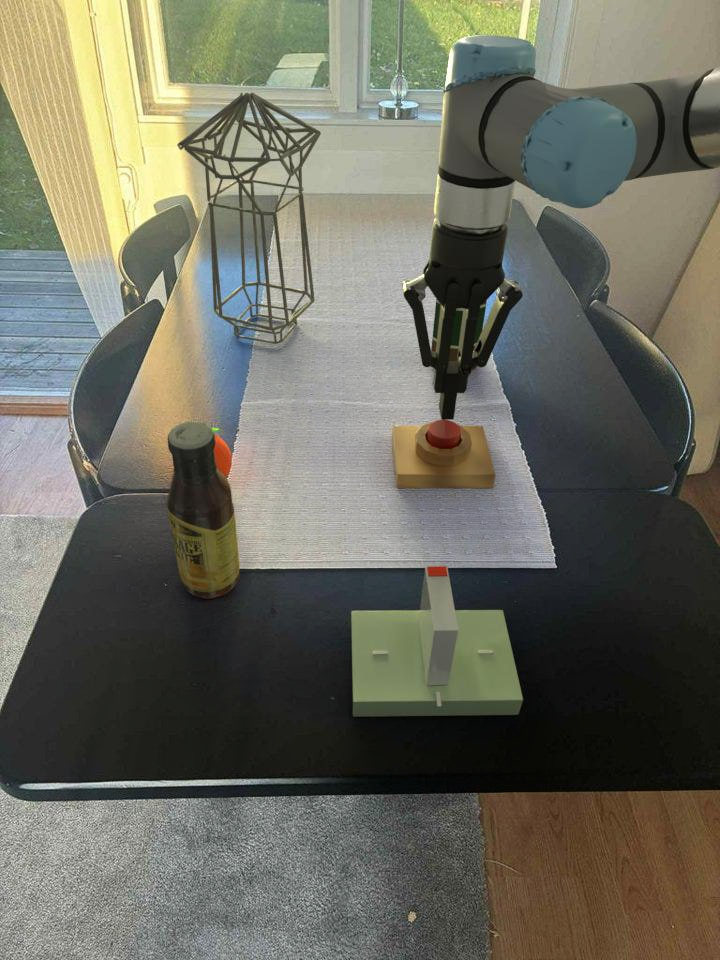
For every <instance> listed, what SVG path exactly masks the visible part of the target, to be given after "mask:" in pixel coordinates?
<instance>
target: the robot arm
mask: <svg viewBox="0 0 720 960" xmlns="http://www.w3.org/2000/svg"><path fill="white" fill-rule="evenodd" d="M536 58H537V50H536V48H535V46H534V45H533V44H532V43H531V42H530V41H529V40H527V39H523V38H520V37H515V36H513V37H512V36H509V35H508V36H506V35H494V34H492V35H491V34H482V35H481V34H480V35H470V36H465V37H462V38H460V39H458V40H457V41H456V42H455V43H453V45H452V46H451V48H450V51H449V57H448V64H447V73H446V80H445V85H444V86H443V88H442V93H443V98H442V99H443V100H442V112H441V123H440V124H441V126H440V137H439V138H440V139H439V149H438V162H437V163H438V166H437V167H438V168H437V177H436V188H435V196H434V206H433V214H434V216H435V218H434V219H433V221H432V226H431V237H430V248H429V258H428V261H427V263H426V264H425V266H424V267H423V269H422V275H420V276H418V277H417V278H415V279H413V280H411V279H405V280H404V281H402V283H401V286H402V293H403V298H404V299H405V301H406V303H407V304H408V306H409V307H410V309H411V312H412V315H413V321H414V326H415V331H416V337H417V342H418V343H417V344H418V348H419V352H420V353H419V354H420V359H421V360H420V361H421V364H422V366H423V367H424V368H433V369H434V371H433V380H432V385H433V390H434V393H435V394H440V395H439V402H438V411H439V414H440V420H450V421H453V420H454V419H455V413H456V405H457V397H458V394H465V393H466V391H467V389H468V383H469V382H468V381H469V376H470V375H471V374H472V370H471V369H472V368H473V367H476V368H477V367H478V368H484V367H486V366H487V364H488V363H489V359H490V357H491V355H492V353H493V351H494V349H495V346H496V344H497V342H498V339H499V337H500V335H501V332H502V331H503V328H504V326H505V324H506V322H507V319H508V317H509V315H510V313H511V311H512V310H513V309H514V307H515V306H516V305H517V304H518V303H519V302H520V301H521V299H522V298H523V295H524V294H523V291H522V289H521V287H520V284H519V283H518V281H517V280H510V279H509V278H507V277H506V273H505V271H504V268H503V267H504V266H503V261H504V255H505V249H506V244H507V238H508V232H509V231H508V230H509V228H508V225H507V223H508V221H509V220H510V218H511V213H512V206H513V199H514V193H515V187H516V182H517V183H519V184H521V185H522V186H524V187H526V188H529V189H530V190H532V191H534V193H536V195H539V196H540V197H541V198H543V199H548V200H549V201H550V202H554V203H559V204H562V205H565V206H567V207H570V208H574V209H587V208H592V207H595V206H597V205H599V204H601V203H602V202H603V200H605V198H607V197H609V196H610V195H613V194H614V193H616V191H617V190H618V189H619V188H620V187H621V186H622V184H623V183H624V182H627V181H632V180H636V179H642V178H650V177H657V176H663V175H671V174H680V173H688V172H698V171H707V170H714V169H720V66H718V67H714V68H708V69H703V70H700V71H695V72H692V73H688V74H684V75H680V76H675V77H670V78H665V79H664V78H662V79H655V80H649V81H641V82H627V83H617V84H608V85H597V86H588V87H578V88H565V87H561V86H558V85H553V84H551V83H548V82H547V83H546V82H544V81H541V80H540V79H537V78H535V74H536V72H537V70H536ZM427 287H428V289H429V290H430V291H431V293H432V294H433V296H434V297H435V300H436V299H437V300H438V302H439V303H440V318H439V327H438V336H437V345H436V352H433V351H431V343H430V337H429V332H428V331H429V330H428V326H427V321H426V315H425V309H424V303H423V301H424V299H425V298H426V295H427V294H426V289H427ZM495 292H496V298H495V300H494V302H493V304H492V307H491V309H490V311H489V313H488V316H487V318H486V321H485V322H484V324H483V330H482V332H481V335H480V337H479V339H478V342H477V344H476V346H475V349H474V351H473V348H474V341H475V334H476V327H477V320H478V318H479V313H480V306H481V305H482V304H483V303H484V302H485V301H486V300H487V301H488V299H489V298H490V297H491V296H492V295H493V294H494V293H495ZM458 308H463V317H462V324H461V332H460V340H459V348H458V356H457V358H458V362H457V361H449V355H450V347H451V339H452V331H453V323H454V319H455V315H456V309H458Z"/></svg>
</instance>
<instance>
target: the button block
mask: <svg viewBox="0 0 720 960" xmlns="http://www.w3.org/2000/svg"><path fill="white" fill-rule="evenodd" d="M432 422H433V421H431V422H428V423H424V424H423V425H392V428H391V444H392V454H393V464H394V465H393V466H394V473H395V474H394V475H395V477H394V478H395V485H396V488H397V489H412V488H413V489H490V488H491V489H493V488H494V486H495V479H496V470H495V466H494V464H493V463H494V462H493V460H492V456H491V452H490V448H489V444H488V440H487V437H486V433H485V428H484V426H483V425H461V424H458V425H459V427H460V429H461V433H460V440H459V444H458V445H457V446H456V447H455V448H452V449H439V448H436V447H433V446H431V445H430V444H429V443H428V440H427V437H428V428H429V425H430V424H431V423H432Z"/></svg>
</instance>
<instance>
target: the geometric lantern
mask: <svg viewBox="0 0 720 960" xmlns="http://www.w3.org/2000/svg"><path fill="white" fill-rule="evenodd" d="M243 93H244V92H240V93H239V95H238V96H237V97H236V98H235V99H233V100H232V101H231V102H230V103H229V104H227V105H226V106H225V107H223V108H222V109H220V110H219V111H218V112H217V113H215V114H214V115H213V116H212V117H210V118H209V119H208V120H206V121H205V122H204V123H202V124H201V125H199V127H197V128H196V129H195V130H193V131H192V132H191V133H190V134H189V135H187V136H185V138H183V139H181V141H179V142H178V143H177V144H176V146H177V147H178V149H179V150H180V151H182V150H183V149H184V151H185V152H187V153H188V154H189V155H190V156H192V158H194V159H195V160H196V161H197V162H199V163H200V164H201V165H202V166H204V170H205V171H204V173H205V182H206V185H205V186H206V198H207V199H206V200H207V202H208V203H207V205H208V207H209V224H210V225H209V227H210V228H209V229H210V246H211V247H210V252H211V254H210V255H211V274H212V275H211V277H212V278H211V279H212V298H213V299H212V300H213V311H214V313H215V314H216V315H217V317H218V318H220V319H222V320H224V321H226V322H227V323H229V324H230V325H231V326H233V335H234V336H235V337H237V338H239V339H244V340H250V341H256V342H262V343H266V344H272V345H278V344H280V343H282V342H284V340H285V339H287V337H288V336H289V335H290V333H291V332H292V331H293V330H294V329H295V328H296V326H297V325H298V318H299V317H300V316H301V315H302V314H303V313H305V311H307V310H308V308H309V307H310V306H312V305H313V304H314V303H315V301H316V300H315V291H314V290H315V289H314V282H313V272H312V264H311V254H310V245H309V235H308V229H307V228H308V227H307V220H306V219H307V218H306V210H305V209H306V208H305V199H304V193H303V191H304V187H303V166H304V164H305V162H306V160H307V159H308V158H309V156H310V154H311V152H312V150H313V149H314V147H315V145H316V143H317V141H318V140H319V138H320V137H321V134H322V133H321V131H320V130H319V129H317V128H316V127H314V126H312V125H310V124H309V123H307V122H306V121H303V120H301V118H299V117H296V116H295V115H293V114H291V113H289V112H287V111H286V110H285V109H282V108H281V107H280V106H277V105H275V104H274V103H272V102H270V101H269V100H266V99H265V98H263V97H261V96H259V95H258V94H256V93H255V92H252V91H251V92H245V93H244V94H243ZM248 106H249V108H250V111H251V114H252V117H253V120H254V122H252V121H249V120H246V119H245V118H246V113H247V110H248ZM256 110H257V111H258V114H259V116H260V118H261V120H262V123H263V125H262V124H260V120H259V117H258V114H257V111H256ZM271 110H272V111H273V112H275V113H276V114H279V115H280V116H283V117H284V118H285V119H288V120H290V121H292V122H293V123H295V124H298V125H299V126H301V127H298V128H297V127H296V128H291V127H287V126H284V125H283V124H282V123H281V122H280V120H279V119H278V118H277V116H275V115H274V114H273V113H272V111H271ZM235 122H237V123H238V126H237V128H236V133H235V136H234V137H235V138H234V141H233V145H232V149H231V152H230V156H227V155H226V154H223V150H224V147H225V142H226V138H227V137H228V135H229V132H230V131H231V129H232V128H233V126H234V124H235ZM273 123H274V124H275V125H274V124H273ZM210 126H212V127H211V128H210V129H209V130H208V131H207V132H205V134H204V135H203V136H202V137H199V136H200V135H201V134H202V133H203V132H204V131H205V130H207V129H208V128H209V127H210ZM251 127H252V128H256V130H257V133H256V132H255V131H254V130H253V129H252V128H251ZM243 128H244V129H245V130H246V131H247V132H248V133H249V134H251V136H252V137H254V139H256V140H257V141H258V142H259V143H260V144H261V147H262V153H261V155H260V156H257V157H255V156H253V157H252V156H249V157H248V156H236V154H237V150H238V147H239V142H240V138H241V134H242V130H243ZM215 131H216V132H215ZM263 131H267V134H268V135H269V136H268V143H267V142H266V139H265V136H264V133H263ZM279 131H280V132H282V133H283V134H284V135H285V142H284V140H283V138H282V137H281V135H280V133H279ZM294 133H295V134H296V133H305V135H303V136H302V137H300V138H299V139H298V140H296V139H295V138H294V137H293V136H292V134H294ZM273 135H274V137H275V138H276V140H277V141H278V143H279V144H280V146H281V148H278V145H277V144H276V142H275V139H274V137H273ZM219 136H220V138H219V139H218V140H217V137H219ZM197 137H198V138H197ZM207 140H208V141H210V140H213V146H214V148H213V149H208V148H206V141H207ZM217 141H218V142H217ZM289 141H290V142H291V143H292V145H290V146H289ZM198 143H201V146H202V147H198V146H194V144H198ZM302 143H303V144H302ZM272 144H273V146H272ZM301 144H302V145H301ZM288 146H289V147H288ZM306 148H307V149H306ZM305 149H306V151H305V152H304V150H305ZM269 151H272V152H275V153H277V155H278V158H271V155H270V152H269ZM303 152H304V154H303ZM297 153H299V163H298V164H297V166H296V167H295V165H294V163H293V157H292V156H293V155H295V154H297ZM200 156H201V157H200ZM202 157H203V158H204V159H203V158H202ZM286 158H288V163H289V165H288V164H287V162H286V161H285V159H286ZM214 159H216V160H219V161H224V162H227V165H228V167H229V171H230V174H221V173H220V172H219V171H217V168H216V164H215V160H214ZM209 160H210V163H211V164H209ZM235 162H237V163H240V162H241V163H255V164H254V165H252V166H250V167H248V168H247V169H245V170H242V171H241V172H240V171H238V170H237V168H236V167H235V165H234V164H233V163H235ZM270 162H280V164H281V165H282V167H283V168H284V170H285V171H286V173H287V174H288V177H287V180H286V182H285V184H283V183H276V182H270V181H264V180H257V179H254V178H255V177H256V174H257V172H258V170H259V168H261V167H263V166H265V165H267V164H268V163H270ZM234 171H235V172H234ZM210 172H211V173H212V174H213V175H214V178H215V179H219V183H218V186H217V189H216V192H215V193H213V194H211V184H210V183H211V181H210V180H211V179H210ZM235 173H236V174H235ZM250 173H251V175H250V177H249V178H248V179H245V178H244V177H245V176H247V175H249V174H250ZM294 175H295V177H296V180H297V183H298V186H296V185H290V184H289V183H290V181H291V179H292V177H293V176H294ZM224 180H234V181H232V182H230V183H229V184H228V185H226V186H224V187H223V188H221V187H222V184H223V181H224ZM236 184H237V185H238V203H239V205H238V207H236V206H231V205H225V204H219V203H216V201H217V198H218V196H219V194H222V193H223V192H225V191H226V190H228V189H229V188H231V187H233V186H234V185H236ZM245 184H248V185H250V192H249V190H248V189H247V187H246V186H245ZM255 184H261V185H267V186H275V187H280V188H283V189H282V192H281V193H280V197H279V199H278V201H277V203H276V205H275V209H274V210H265V211H263V210H262V209H261V208H260V206H259V204H258V203H257V202H256V197H255ZM287 189H293V190H298V191H297V192H298V193H297V194H296V195H295V196H293V197H292V198H291V199H289V200H288V201H286V202H285V203H283V204H282V205H281V202H282V200H283V197H284V196H285V192H286V190H287ZM243 192H244V194H245V195H246V196H247V198H248V199H249V201H250V202H251V209H247V208H244V206H243V205H244V204H243V203H244V201H243ZM297 199H298V207H299V222H300V223H299V224H300V239H301V253H302V254H301V255H302V271H303V285H304V286H303V287H304V289H303V290H302V289H298V288H293V287H288V286H286V283H285V276H284V265H283V258H282V250H281V241H280V231H279V222H278V214H277V213H279V212H280V211H281V210H283V209H284V208H285V207H287V206H288V205H290V204H291V203H293V202H294V201H296V200H297ZM214 207H216V208H220V209H221V208H222V209H227V210H232V211H239V232H240V233H239V234H240V235H239V236H240V257H241V285H240V286H238V288H237V289H235V290H234V291H233V292H232V293H230V294H229V295H228V296H227V297H226V298H224V299H223V300H222V295H221V293H222V292H221V282H220V273H219V271H220V270H219V259H218V247H217V235H216V224H215V212H214ZM244 213H249V214H252V215H251V216H252V223H253V224H252V226H253V241H254V242H253V243H254V255H255V266H256V279H257V281H252V282H246V262H245V261H246V259H245V258H246V257H245V234H244V233H245V232H244V231H245V230H244V227H245V226H244ZM257 215H259V217H260V218H259V219H260V232H261V242H262V255H263V269H264V279H265V282H262V281H261V267H260V266H261V265H260V252H259V239H258V225H257V224H258V223H257ZM265 216H272V218H273V228H274V236H275V244H276V254H277V261H278V270H279V271H278V272H279V279H280V285H277V284H272V283H270V274H269V262H268V261H269V259H268V249H267V248H268V247H267V236H266V225H265ZM308 282H309V283H308ZM308 285H309V286H308ZM253 286H255V301H254V303H253V302H252V300H251V298H250V295H249V294H248V291H247V289H246V287H253ZM259 286H263V287H265V293H266V304H262V303H258V300H259V288H260V287H259ZM308 287H309V288H308ZM271 288H272V289H276V290H281V295H282V304H283V306H277V305H272V298H271ZM242 290H243V292H244V294H245V296H246V299H247V301H248V304H249V305H248V306H247V307H246V309H244V311H243V312H242V313H241V314H240V315H239V316H238V317H233V316H229V315H225V314H223V306H224V305H225V304H227V303H228V302H229V301H230V300H231V299H232V298H234V297H235V296H236V295H237V294H238V293H240V292H241V291H242ZM287 292H292V293H295V294H296V293H297V294H300V295H301V294H302V295H301V296H300V297H299V299H298V301H297V302H296V303H295V305H294V307H293V308H291V307H290V308H289V307H288V302H287V301H288V300H287ZM305 296H307V297H308V298H309V301H307V302H305V304H304V305H302V306H301V307H300V308H298V306H299V305H300V303H301V302H302V301H303V299H304V297H305ZM253 307H255V314H253ZM259 307H263V308H267V313H268V315H267V314H263V313H259ZM272 309H276V310H283V312H284V317H280V316H275V315H273V311H272ZM296 309H297V310H296ZM248 311H249V316H248V317H247V318H246V319H242V318H243V317H244V316H245V315H246V314H247V312H248ZM289 311H290V313H291V316H290V317H289ZM255 317H262V318H267V319H268V325H264V324H261V323H257V322H253V321H250V320H252V318H255ZM273 319H275V320H281V321H285V323H282V324H279V325H276V326H274V323H273ZM238 323H240V324H241V325H240V324H238ZM292 324H293V325H292ZM245 325H247V326H245ZM291 325H292V326H291ZM290 326H291V328H289V329H288V331H286V333H285V334H284V335H283V331H284V330H285V329H286V328H287V327H290ZM255 327H256V328H255ZM242 329H244V330H249V331H255V332H261V333H265V334H270V335H273V340H268V339H263V338H258V337H257V338H256V337H251V336H246V335H240V330H242ZM277 330H278V331H277ZM277 335H279V340H277Z"/></svg>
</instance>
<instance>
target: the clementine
mask: <svg viewBox="0 0 720 960" xmlns="http://www.w3.org/2000/svg"><path fill="white" fill-rule="evenodd" d="M211 428H212V429H213V431H214V436H215V443H216V444H215V448H214V454H215V461H216V464H217V469H220V470H221V472H222V473H223V475H224V476H225V477H226V478H227V477H228V476H229V473H230V471H231V468H232V461H233V460H232V459H233V458H232V452H231V450H230V447H229V446H228V444H227V443H226V442H225V440H224V439H222V437H220V436H218V435H217V434H215V432H217V431H221V432H222V434H225V432H224V430H223V429H221V428H218V427H211ZM172 466H173V467H174V464H173V463H172Z"/></svg>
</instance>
